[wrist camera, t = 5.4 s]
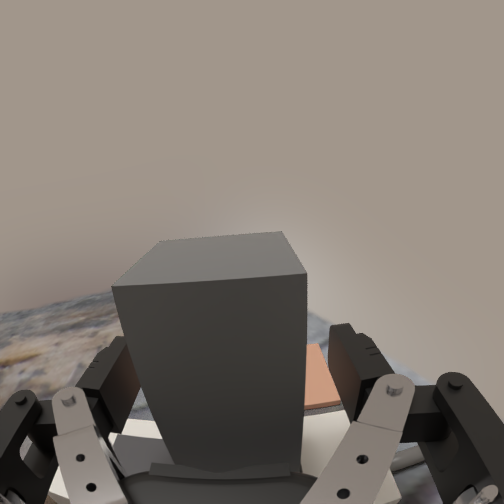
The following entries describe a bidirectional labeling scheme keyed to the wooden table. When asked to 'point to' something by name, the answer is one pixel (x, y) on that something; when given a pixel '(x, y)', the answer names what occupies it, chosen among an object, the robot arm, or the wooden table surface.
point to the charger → (220, 347)
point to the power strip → (312, 461)
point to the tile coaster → (318, 381)
